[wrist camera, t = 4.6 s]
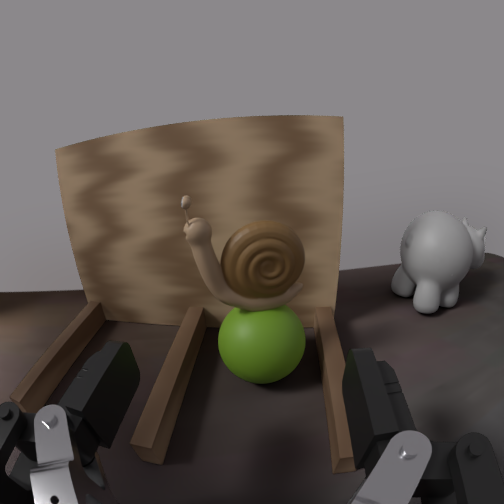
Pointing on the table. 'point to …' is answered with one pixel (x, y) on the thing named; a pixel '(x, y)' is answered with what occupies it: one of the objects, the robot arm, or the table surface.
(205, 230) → the snail figurine
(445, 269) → the chubby cartoon animal
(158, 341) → the table surface
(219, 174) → the lane rack
